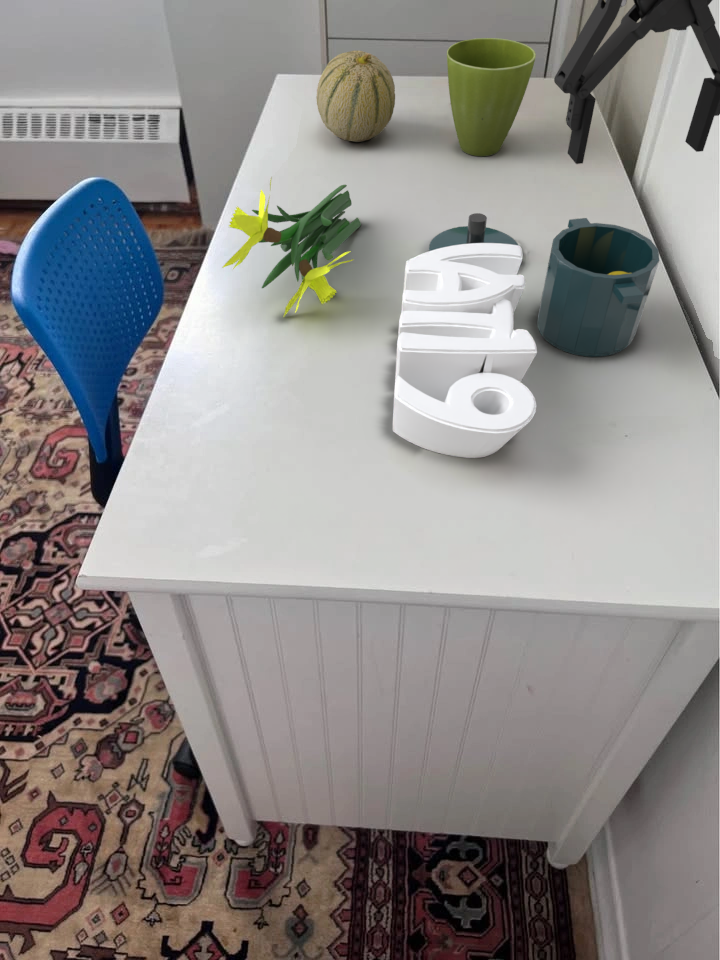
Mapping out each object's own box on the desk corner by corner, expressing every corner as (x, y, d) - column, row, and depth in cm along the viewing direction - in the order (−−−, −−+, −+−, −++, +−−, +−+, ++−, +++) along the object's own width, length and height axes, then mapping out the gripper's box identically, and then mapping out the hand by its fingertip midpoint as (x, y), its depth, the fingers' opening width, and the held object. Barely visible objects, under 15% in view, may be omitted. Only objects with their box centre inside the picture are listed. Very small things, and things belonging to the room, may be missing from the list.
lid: (504, 229, 113) (509, 191, 109) (531, 276, 104) (538, 236, 100) (419, 237, 112) (421, 199, 108) (439, 285, 103) (442, 246, 99)
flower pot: (534, 141, 135) (549, 46, 123) (502, 173, 126) (515, 74, 114) (461, 125, 140) (469, 32, 128) (426, 155, 132) (431, 58, 120)
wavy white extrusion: (407, 292, 102) (409, 223, 94) (524, 300, 100) (537, 230, 92) (373, 472, 79) (373, 401, 71) (525, 487, 77) (542, 415, 69)
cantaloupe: (334, 118, 143) (330, 33, 132) (404, 127, 140) (407, 40, 129) (306, 149, 134) (299, 60, 123) (380, 159, 131) (380, 69, 120)
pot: (604, 285, 102) (625, 208, 94) (658, 364, 90) (688, 284, 82) (519, 294, 101) (532, 218, 93) (562, 375, 89) (582, 296, 81)
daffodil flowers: (407, 237, 114) (347, 308, 85) (331, 276, 120) (251, 354, 92) (357, 133, 108) (274, 172, 79) (280, 180, 114) (177, 231, 86)
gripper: (806, -111, 66) (725, 127, 82) (544, -92, 64) (514, 148, 80) (856, -95, 61) (760, 155, 77) (574, -74, 59) (535, 179, 75)
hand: (634, 152), depth 78 cm, fingers open, 13 cm apart
